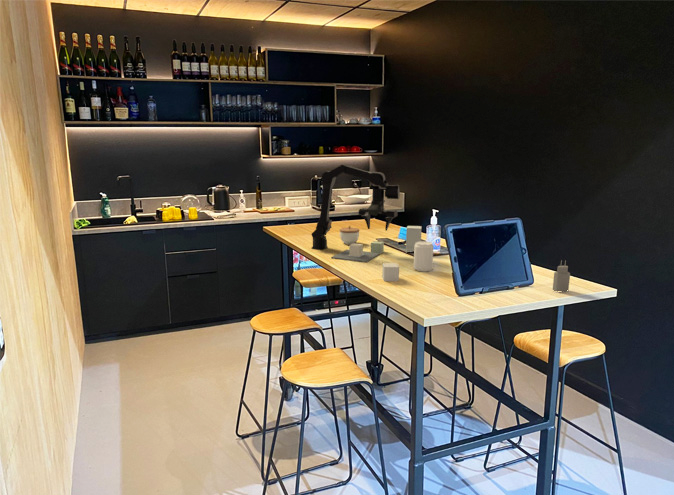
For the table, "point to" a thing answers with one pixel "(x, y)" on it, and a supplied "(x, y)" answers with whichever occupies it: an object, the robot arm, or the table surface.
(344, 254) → the mat
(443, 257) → the table surface
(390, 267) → the pinkish grey cube
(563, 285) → the power adapter
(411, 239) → the supplement box
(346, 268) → the table surface
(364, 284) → the table surface
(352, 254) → the cream block
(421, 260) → the beverage can
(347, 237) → the lidded jar
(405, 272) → the table surface
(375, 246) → the sage block
